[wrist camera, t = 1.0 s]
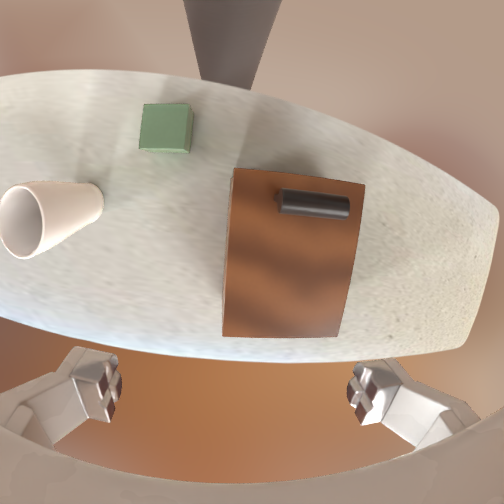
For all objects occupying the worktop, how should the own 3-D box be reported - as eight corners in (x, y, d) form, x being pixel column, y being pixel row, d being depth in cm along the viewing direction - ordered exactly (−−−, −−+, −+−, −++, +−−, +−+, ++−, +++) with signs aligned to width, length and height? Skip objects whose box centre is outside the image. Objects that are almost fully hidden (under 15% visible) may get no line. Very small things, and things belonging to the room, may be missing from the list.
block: (154, 113, 30) (143, 104, 25) (194, 113, 31) (189, 103, 26) (150, 152, 31) (138, 148, 26) (190, 153, 32) (184, 149, 27)
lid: (234, 168, 24) (236, 165, 19) (362, 184, 26) (390, 187, 21) (222, 332, 29) (222, 363, 24) (334, 333, 30) (352, 360, 25)
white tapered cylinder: (64, 184, 31) (-9, 194, 16) (105, 171, 31) (37, 173, 17) (73, 232, 33) (6, 265, 18) (114, 222, 33) (53, 253, 19)
